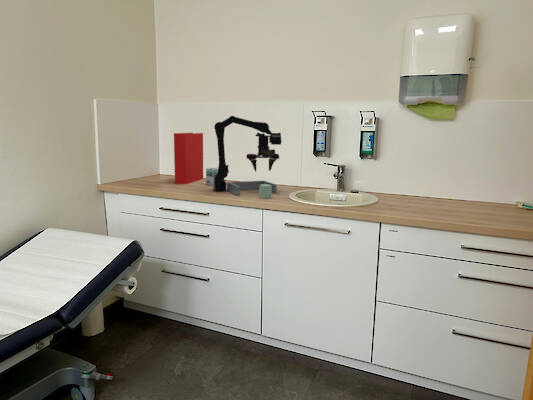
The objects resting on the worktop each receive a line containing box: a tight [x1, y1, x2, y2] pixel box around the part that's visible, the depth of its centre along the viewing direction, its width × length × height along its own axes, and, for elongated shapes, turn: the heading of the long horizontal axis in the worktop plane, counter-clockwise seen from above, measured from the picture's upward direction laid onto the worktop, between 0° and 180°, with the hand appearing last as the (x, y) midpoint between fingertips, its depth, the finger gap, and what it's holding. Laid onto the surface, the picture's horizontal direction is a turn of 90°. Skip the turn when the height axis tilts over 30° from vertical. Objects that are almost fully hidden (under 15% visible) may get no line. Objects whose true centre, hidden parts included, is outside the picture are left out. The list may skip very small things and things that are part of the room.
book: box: [173, 132, 204, 185], centre depth 261 cm, size 27×8×32 cm, turn 164°
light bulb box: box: [205, 166, 219, 187], centre depth 251 cm, size 11×7×11 cm, turn 143°
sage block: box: [258, 184, 273, 200], centre depth 212 cm, size 5×5×7 cm
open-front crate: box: [226, 180, 278, 197], centre depth 228 cm, size 24×17×5 cm
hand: (262, 171), depth 230 cm, fingers open, 9 cm apart
